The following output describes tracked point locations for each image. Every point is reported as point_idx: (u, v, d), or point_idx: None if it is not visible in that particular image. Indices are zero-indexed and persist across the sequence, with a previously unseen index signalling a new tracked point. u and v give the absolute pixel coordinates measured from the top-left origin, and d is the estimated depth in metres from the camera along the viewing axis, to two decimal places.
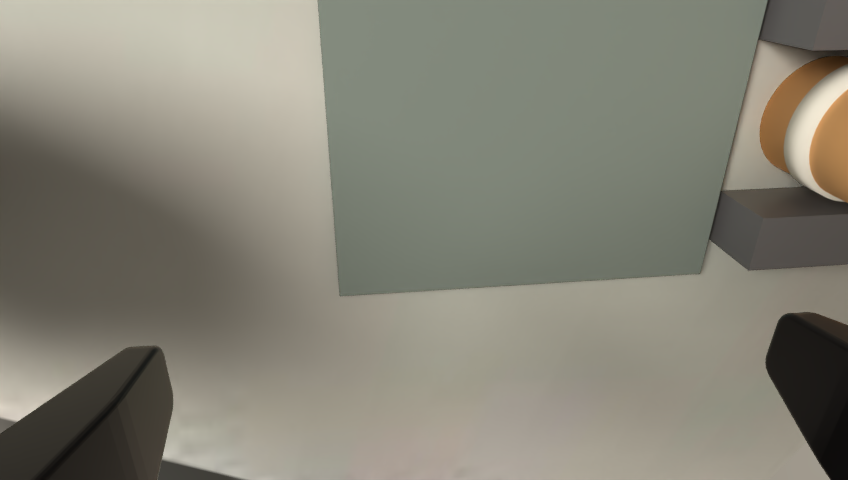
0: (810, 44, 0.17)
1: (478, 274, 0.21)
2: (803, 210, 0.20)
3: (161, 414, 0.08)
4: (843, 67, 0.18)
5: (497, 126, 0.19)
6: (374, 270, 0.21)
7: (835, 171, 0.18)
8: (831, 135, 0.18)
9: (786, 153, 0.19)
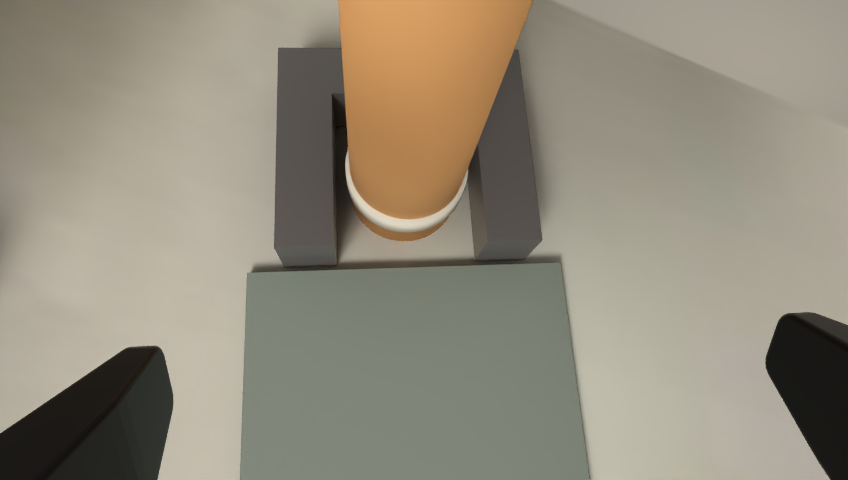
0: (329, 246, 0.20)
1: None
2: (480, 199, 0.21)
3: (161, 414, 0.08)
4: (352, 200, 0.21)
5: None
6: None
7: (432, 204, 0.20)
8: (402, 212, 0.20)
9: (429, 227, 0.21)
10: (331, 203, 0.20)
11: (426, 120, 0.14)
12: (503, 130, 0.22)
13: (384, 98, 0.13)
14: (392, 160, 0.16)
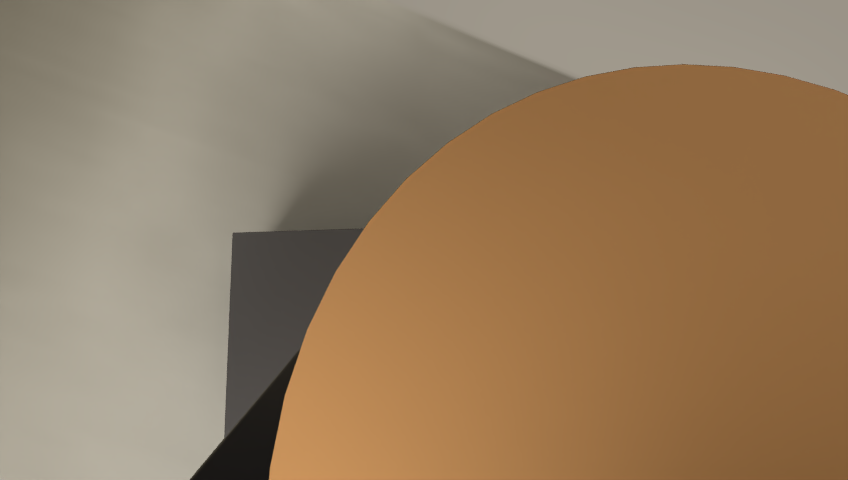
0: None
1: None
2: None
3: None
4: None
5: None
6: None
7: None
8: None
9: None
10: None
11: None
12: None
13: None
14: None
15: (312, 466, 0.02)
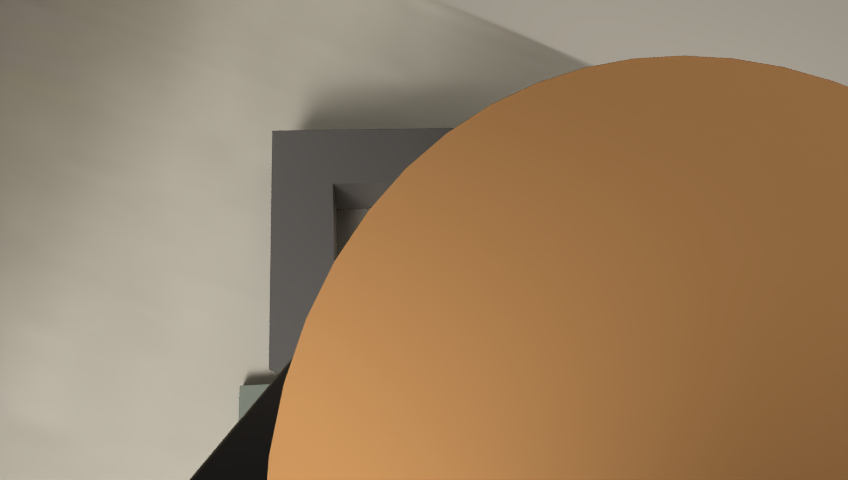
0: None
1: None
2: None
3: None
4: None
5: None
6: None
7: None
8: None
9: None
10: None
11: None
12: None
13: None
14: None
15: (310, 455, 0.02)
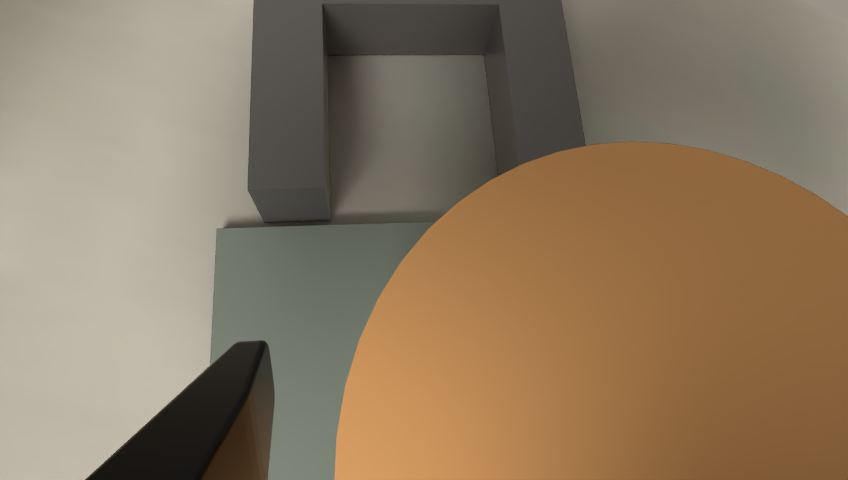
0: (319, 189, 0.16)
1: None
2: (511, 133, 0.17)
3: (269, 407, 0.08)
4: None
5: None
6: None
7: None
8: None
9: None
10: (321, 135, 0.16)
11: None
12: (537, 48, 0.17)
13: None
14: None
15: (365, 435, 0.03)
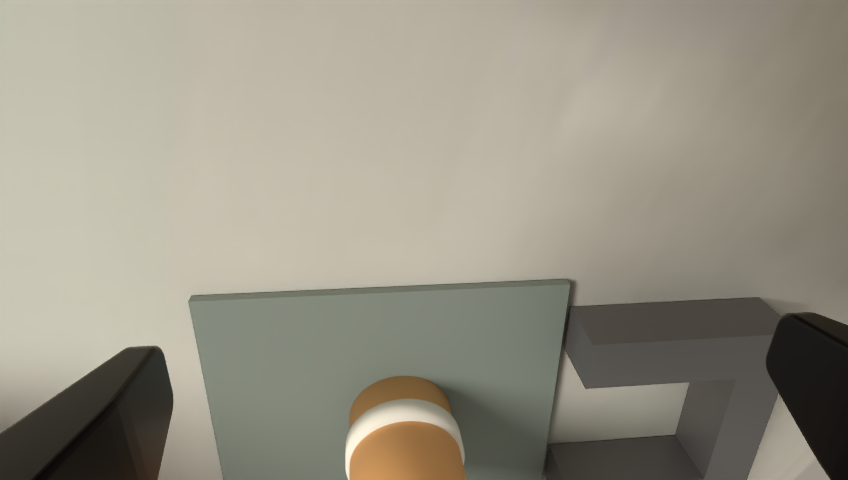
0: (584, 383, 0.22)
1: None
2: (604, 478, 0.25)
3: (161, 414, 0.08)
4: (376, 407, 0.22)
5: None
6: None
7: None
8: (350, 476, 0.21)
9: None
10: (625, 385, 0.22)
11: None
12: None
13: None
14: None
15: None
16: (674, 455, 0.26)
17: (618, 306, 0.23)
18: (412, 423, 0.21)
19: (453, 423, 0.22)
